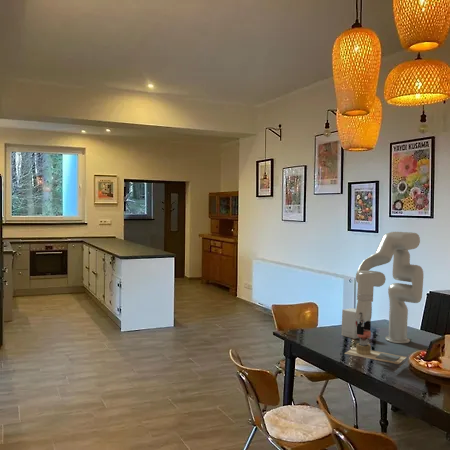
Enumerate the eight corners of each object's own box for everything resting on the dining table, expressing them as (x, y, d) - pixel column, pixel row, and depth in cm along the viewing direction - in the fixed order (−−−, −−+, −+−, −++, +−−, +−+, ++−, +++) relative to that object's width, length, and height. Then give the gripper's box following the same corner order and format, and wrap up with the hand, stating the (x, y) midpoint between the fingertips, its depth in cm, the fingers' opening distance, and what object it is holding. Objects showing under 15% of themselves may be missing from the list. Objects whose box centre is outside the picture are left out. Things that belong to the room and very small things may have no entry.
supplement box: (354, 339, 273) (354, 312, 272) (340, 335, 280) (341, 309, 279) (364, 336, 278) (364, 310, 278) (350, 333, 285) (351, 307, 285)
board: (354, 350, 251) (354, 339, 251) (407, 360, 236) (407, 348, 236) (344, 356, 240) (344, 345, 240) (398, 367, 225) (399, 355, 225)
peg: (359, 350, 246) (360, 327, 246) (371, 352, 242) (372, 329, 242) (354, 353, 241) (355, 329, 240) (367, 355, 237) (368, 332, 237)
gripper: (363, 294, 250) (362, 328, 250) (351, 298, 236) (349, 334, 236) (378, 296, 245) (377, 330, 246) (366, 300, 231) (365, 337, 232)
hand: (363, 332), depth 241 cm, fingers open, 9 cm apart
